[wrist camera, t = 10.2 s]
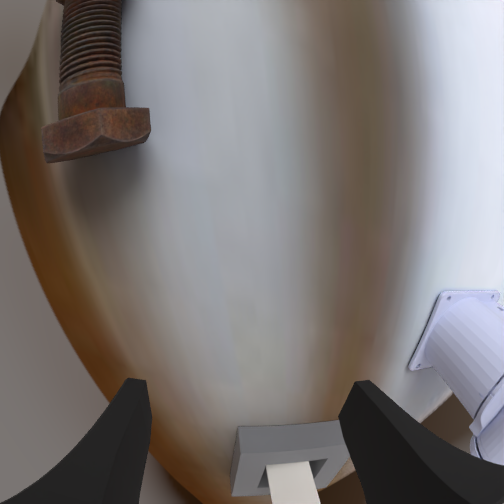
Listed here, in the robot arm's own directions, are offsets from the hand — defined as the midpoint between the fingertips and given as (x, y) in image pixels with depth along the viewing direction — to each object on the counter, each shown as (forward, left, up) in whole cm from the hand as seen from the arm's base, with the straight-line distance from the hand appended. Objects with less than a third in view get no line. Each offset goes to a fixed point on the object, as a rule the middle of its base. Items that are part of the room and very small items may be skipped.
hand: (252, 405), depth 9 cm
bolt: (+9, -15, -10) cm, 20 cm away
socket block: (-7, +20, -9) cm, 23 cm away
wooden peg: (-7, +20, -10) cm, 23 cm away
